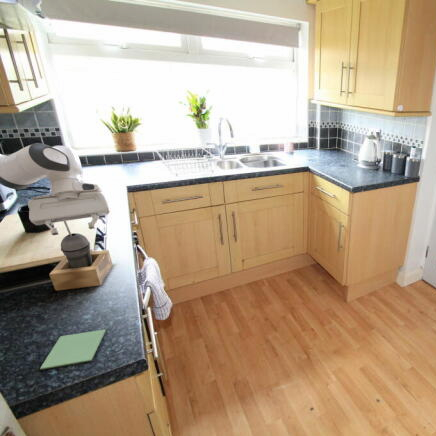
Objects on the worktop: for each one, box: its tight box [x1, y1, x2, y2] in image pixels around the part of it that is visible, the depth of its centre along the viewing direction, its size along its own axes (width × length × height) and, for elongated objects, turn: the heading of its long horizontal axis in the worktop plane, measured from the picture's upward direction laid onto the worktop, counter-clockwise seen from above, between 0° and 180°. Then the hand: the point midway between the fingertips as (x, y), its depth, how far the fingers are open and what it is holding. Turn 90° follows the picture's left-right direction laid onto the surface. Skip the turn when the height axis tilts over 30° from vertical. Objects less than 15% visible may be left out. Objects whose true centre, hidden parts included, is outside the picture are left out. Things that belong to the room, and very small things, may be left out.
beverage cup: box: [60, 221, 93, 269], centre depth 99 cm, size 7×7×20 cm
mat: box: [39, 328, 107, 371], centre depth 77 cm, size 10×10×1 cm
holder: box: [48, 249, 114, 292], centre depth 102 cm, size 12×12×6 cm
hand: (74, 231), depth 100 cm, fingers open, 8 cm apart
